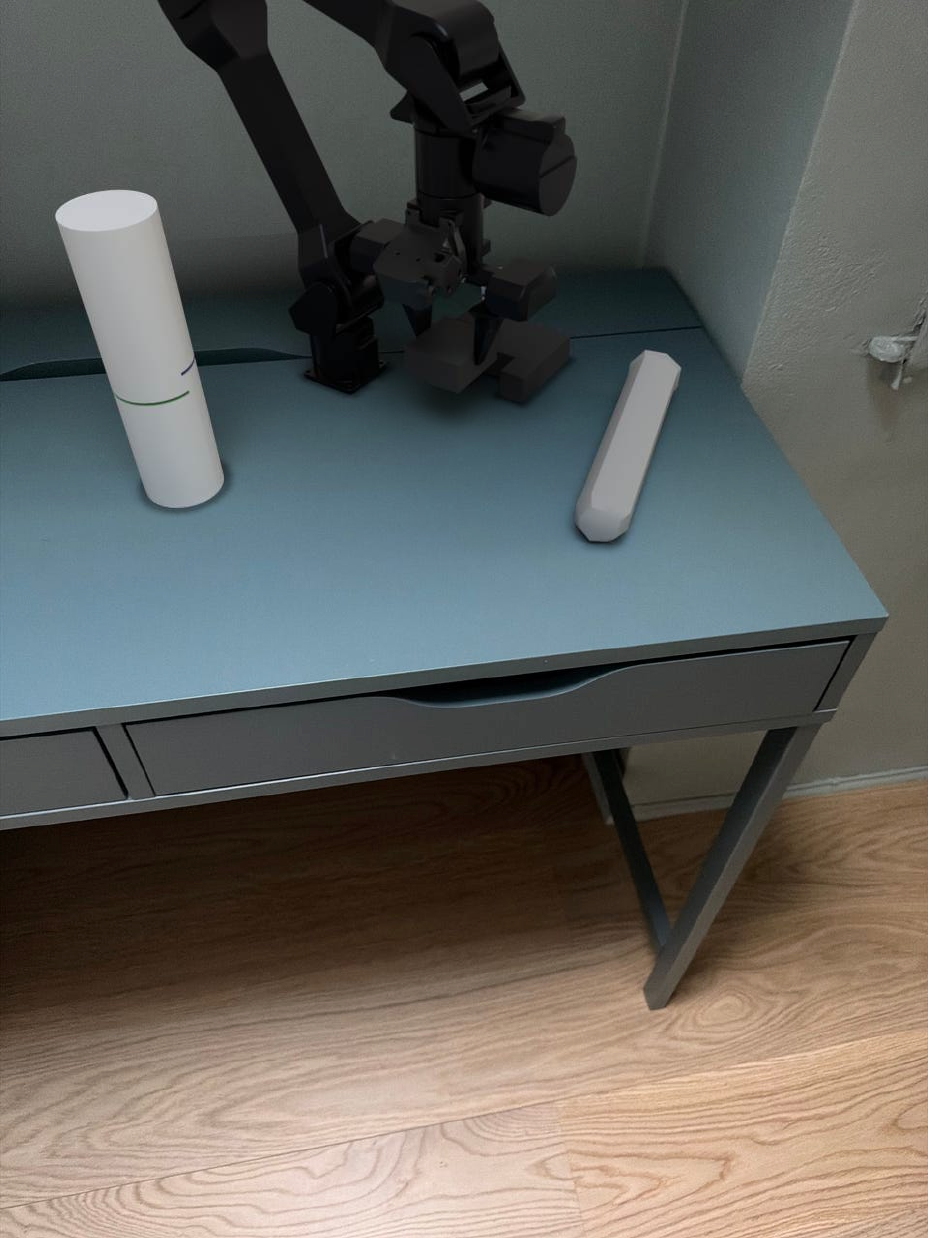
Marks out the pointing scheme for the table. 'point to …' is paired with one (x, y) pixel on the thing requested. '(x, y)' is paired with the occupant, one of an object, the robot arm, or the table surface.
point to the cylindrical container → (143, 341)
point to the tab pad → (448, 354)
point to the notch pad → (527, 358)
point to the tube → (627, 447)
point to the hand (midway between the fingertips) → (451, 353)
